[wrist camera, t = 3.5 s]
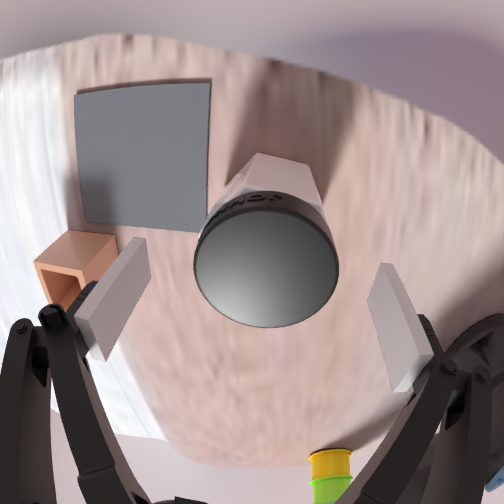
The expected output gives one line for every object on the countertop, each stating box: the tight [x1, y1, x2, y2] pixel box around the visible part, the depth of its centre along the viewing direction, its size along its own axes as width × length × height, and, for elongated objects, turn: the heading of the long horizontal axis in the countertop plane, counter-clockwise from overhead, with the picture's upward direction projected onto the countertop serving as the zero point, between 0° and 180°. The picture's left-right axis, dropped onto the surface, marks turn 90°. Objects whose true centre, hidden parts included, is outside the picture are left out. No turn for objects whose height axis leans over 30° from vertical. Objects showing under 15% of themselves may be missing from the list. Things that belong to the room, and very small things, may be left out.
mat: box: [74, 83, 211, 233], centre depth 25 cm, size 14×14×1 cm
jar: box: [193, 153, 339, 328], centre depth 21 cm, size 9×8×12 cm
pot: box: [33, 230, 119, 312], centre depth 29 cm, size 7×7×7 cm
